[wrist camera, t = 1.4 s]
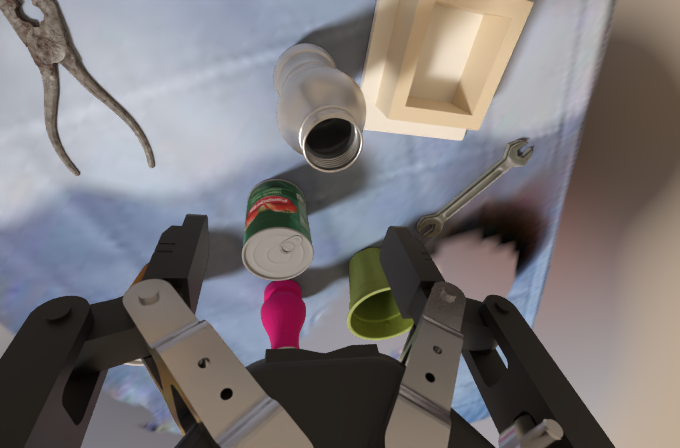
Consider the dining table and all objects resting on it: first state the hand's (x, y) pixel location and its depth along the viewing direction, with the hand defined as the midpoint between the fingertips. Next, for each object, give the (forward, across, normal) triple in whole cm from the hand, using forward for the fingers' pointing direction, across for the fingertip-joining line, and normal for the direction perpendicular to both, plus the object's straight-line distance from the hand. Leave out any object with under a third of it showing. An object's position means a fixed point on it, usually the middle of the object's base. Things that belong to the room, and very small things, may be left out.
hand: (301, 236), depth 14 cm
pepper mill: (+26, -3, +33) cm, 43 cm away
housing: (+26, -16, -6) cm, 31 cm away
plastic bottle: (+26, -2, -2) cm, 27 cm away
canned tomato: (+26, 0, +15) cm, 31 cm away
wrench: (+27, -29, +10) cm, 41 cm away
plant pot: (+26, -17, +26) cm, 41 cm away
